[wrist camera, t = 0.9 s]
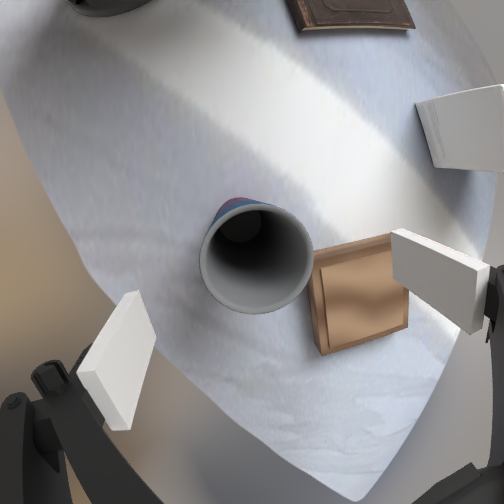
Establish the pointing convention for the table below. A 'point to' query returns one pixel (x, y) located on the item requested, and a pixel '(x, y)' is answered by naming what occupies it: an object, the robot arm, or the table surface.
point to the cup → (255, 257)
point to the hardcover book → (350, 14)
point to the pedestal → (355, 294)
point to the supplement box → (466, 129)
